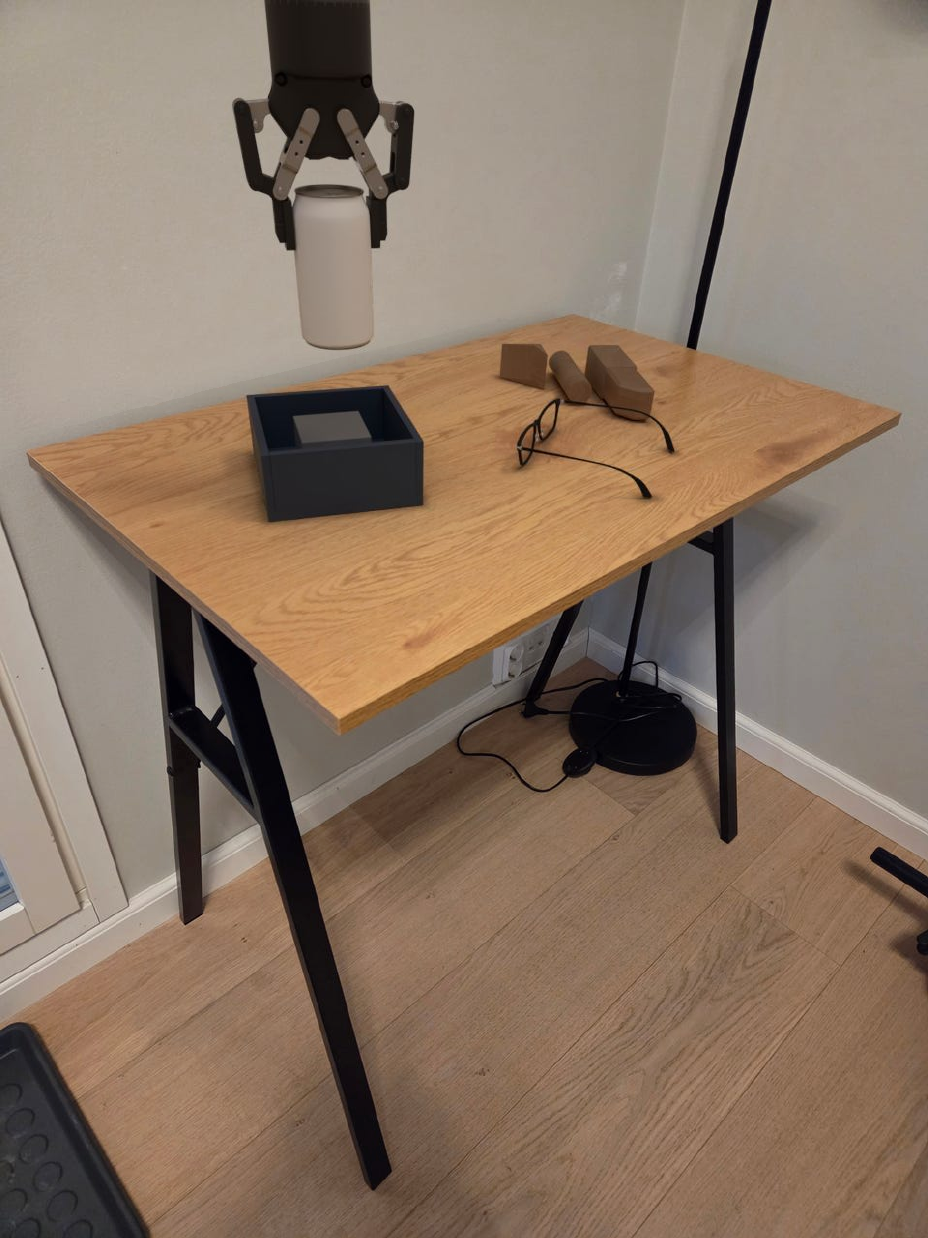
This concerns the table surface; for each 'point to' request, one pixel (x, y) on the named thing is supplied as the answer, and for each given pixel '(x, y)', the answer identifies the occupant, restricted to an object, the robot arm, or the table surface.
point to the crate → (335, 455)
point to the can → (333, 266)
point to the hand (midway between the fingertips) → (332, 246)
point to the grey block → (330, 430)
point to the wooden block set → (582, 375)
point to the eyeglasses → (537, 424)
